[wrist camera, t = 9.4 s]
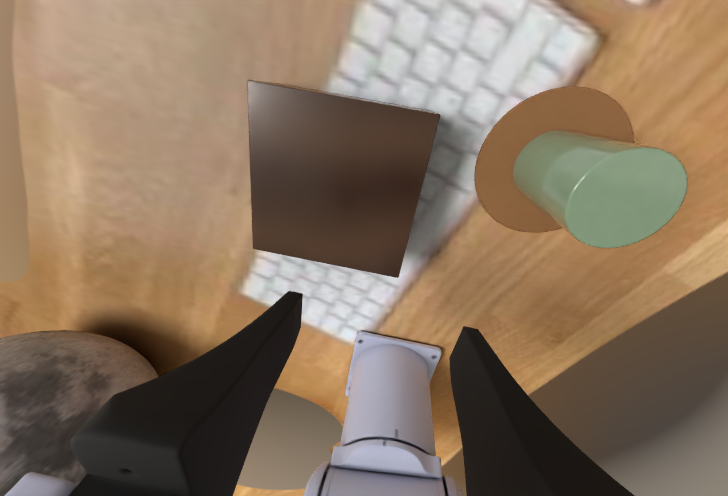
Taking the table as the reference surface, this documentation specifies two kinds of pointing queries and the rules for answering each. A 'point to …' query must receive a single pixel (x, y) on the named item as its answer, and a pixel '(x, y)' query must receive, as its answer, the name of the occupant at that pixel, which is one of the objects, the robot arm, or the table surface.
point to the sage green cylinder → (601, 186)
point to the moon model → (57, 397)
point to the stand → (335, 175)
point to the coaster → (520, 127)
